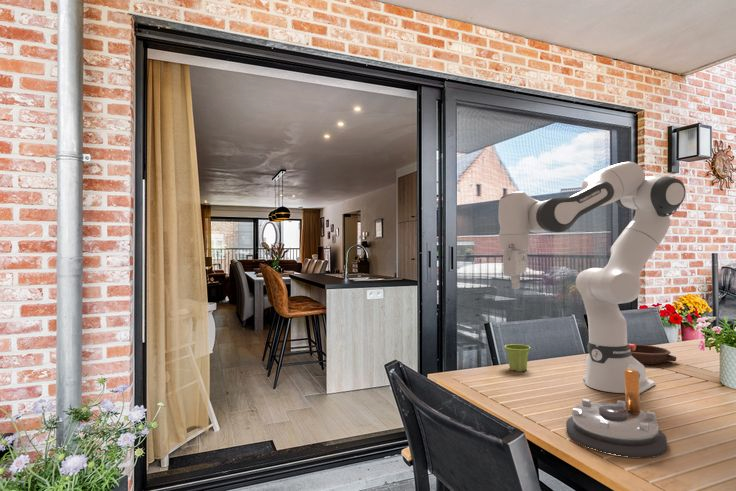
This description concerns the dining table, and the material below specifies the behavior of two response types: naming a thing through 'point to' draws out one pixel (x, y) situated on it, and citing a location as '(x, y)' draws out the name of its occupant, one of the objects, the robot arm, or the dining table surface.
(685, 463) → the dining table surface
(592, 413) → the round lugged disc
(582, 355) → the dining table surface
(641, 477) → the dining table surface
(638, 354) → the dish
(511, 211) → the robot arm
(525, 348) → the plant pot
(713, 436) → the dining table surface
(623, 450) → the base plate
